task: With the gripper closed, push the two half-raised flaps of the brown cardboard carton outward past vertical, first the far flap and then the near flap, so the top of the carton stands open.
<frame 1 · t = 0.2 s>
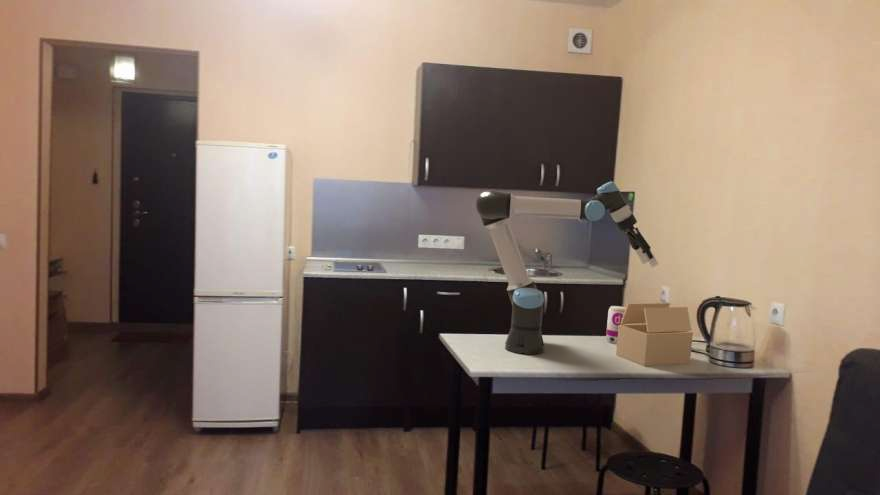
hand: (650, 264, 254), 36 cm above the table, tool tilted 35°, fingers open, 13 cm apart
far flap: (645, 313, 250), point 17 cm above the table, hinge at 70.0°
near flap: (667, 319, 239), point 17 cm above the table, hinge at 70.0°
carton: (652, 359, 246), on the table
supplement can: (615, 342, 272), on the table
energy drink can: (658, 345, 273), on the table
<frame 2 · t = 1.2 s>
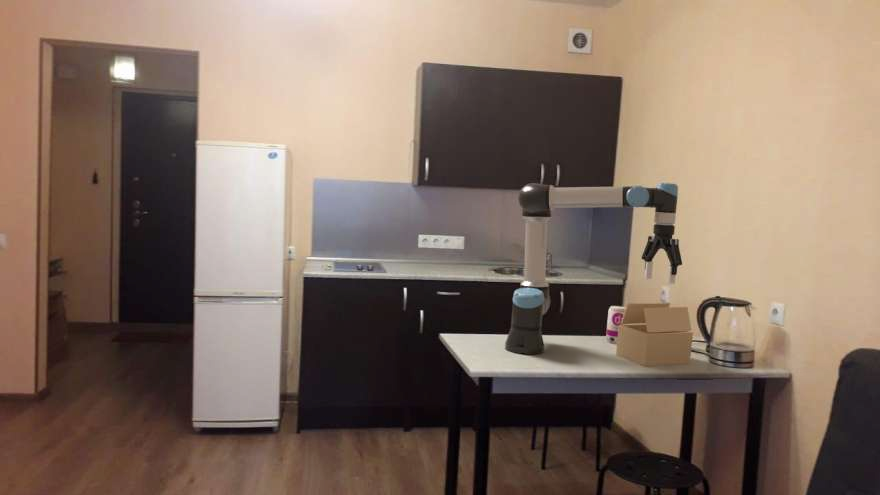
hand: (659, 281, 244), 30 cm above the table, tool pointing down, fingers open, 12 cm apart
nothing on the table moved.
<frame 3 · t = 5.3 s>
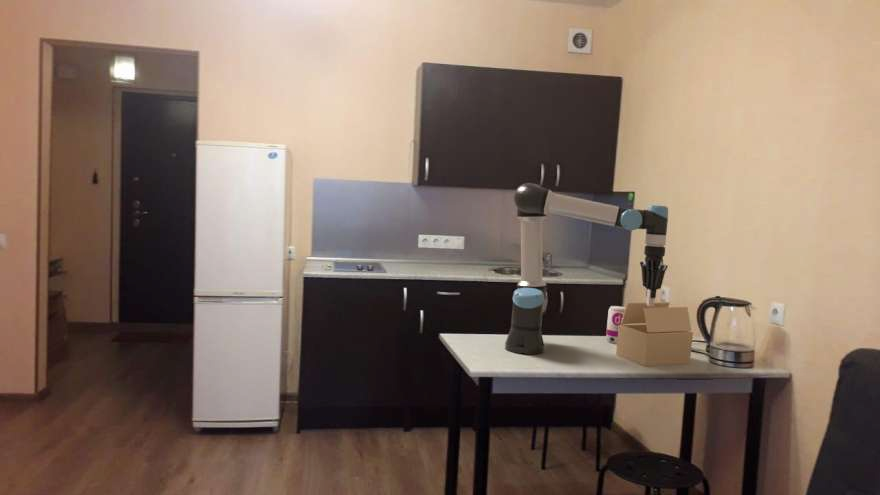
hand: (650, 306, 248), 20 cm above the table, tool pointing down, fingers closed
far flap: (645, 312, 250), point 17 cm above the table, hinge at 72.4°, touching gripper
everything else where it was.
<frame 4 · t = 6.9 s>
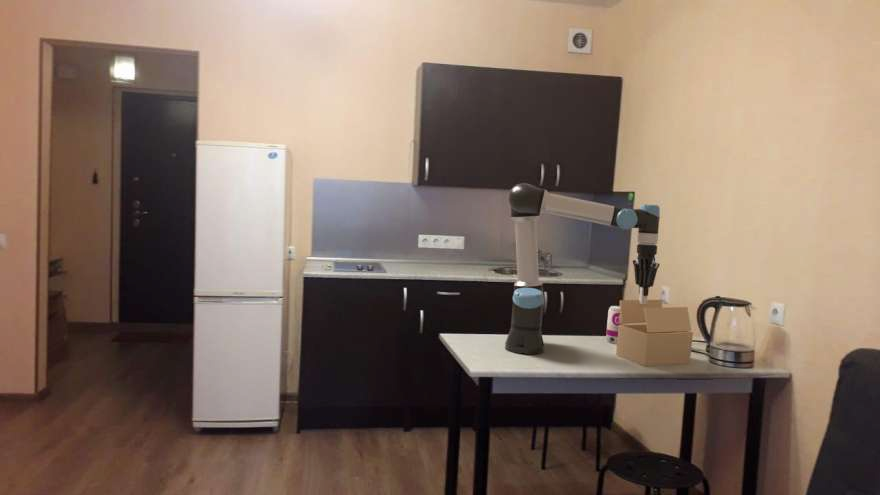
hand: (642, 303, 252), 20 cm above the table, tool pointing down, fingers closed
far flap: (641, 311, 252), point 17 cm above the table, hinge at 100.6°, touching gripper
everything else where it was.
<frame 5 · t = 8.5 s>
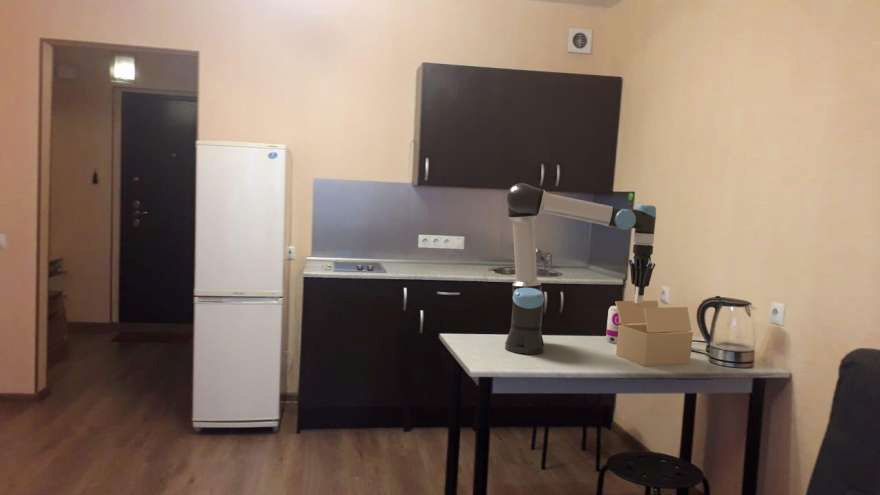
hand: (638, 303, 254), 20 cm above the table, tool pointing down, fingers closed
far flap: (639, 311, 254), point 17 cm above the table, hinge at 118.5°, touching gripper
everything else where it was.
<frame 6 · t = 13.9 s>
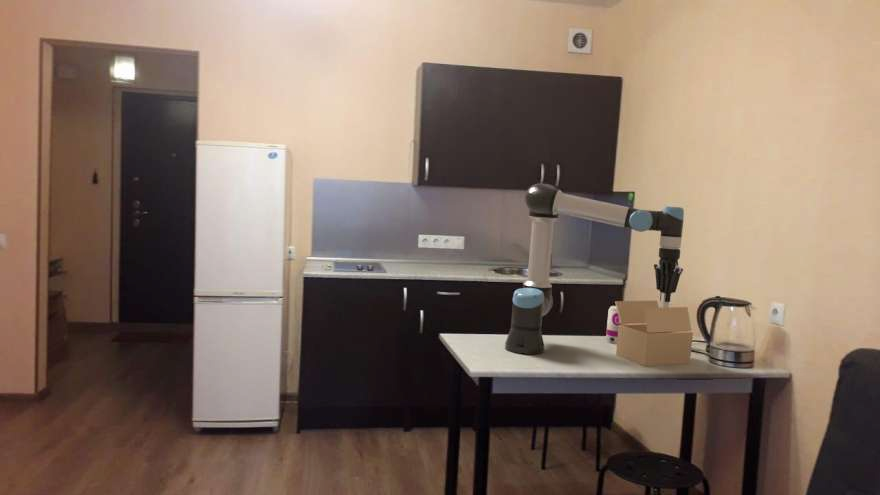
hand: (664, 309, 241), 20 cm above the table, tool pointing down, fingers closed
far flap: (639, 311, 254), point 17 cm above the table, hinge at 118.9°
near flap: (667, 319, 239), point 17 cm above the table, hinge at 70.0°, touching gripper
everything else where it was.
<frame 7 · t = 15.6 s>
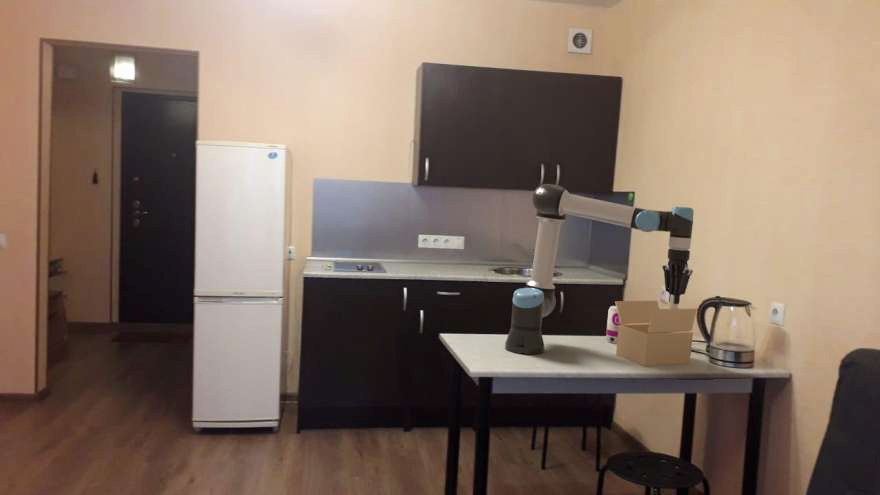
hand: (673, 312, 237), 20 cm above the table, tool pointing down, fingers closed
near flap: (672, 320, 237), point 17 cm above the table, hinge at 100.5°, touching gripper
everything else where it was.
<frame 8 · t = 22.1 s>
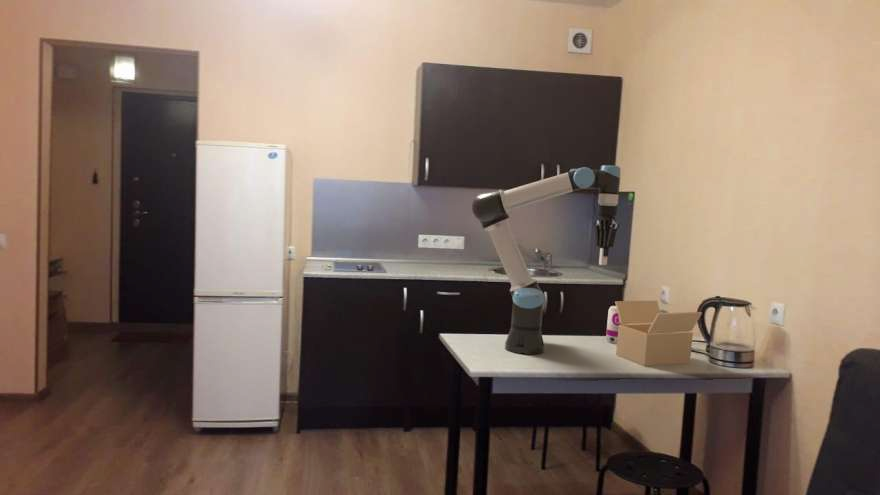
hand: (602, 264, 253), 34 cm above the table, tool pointing down, fingers closed
near flap: (675, 322, 236), point 17 cm above the table, hinge at 119.0°
everything else where it was.
at the end: far flap at +119° (first picture: +70°); near flap at +119° (first picture: +70°) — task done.
